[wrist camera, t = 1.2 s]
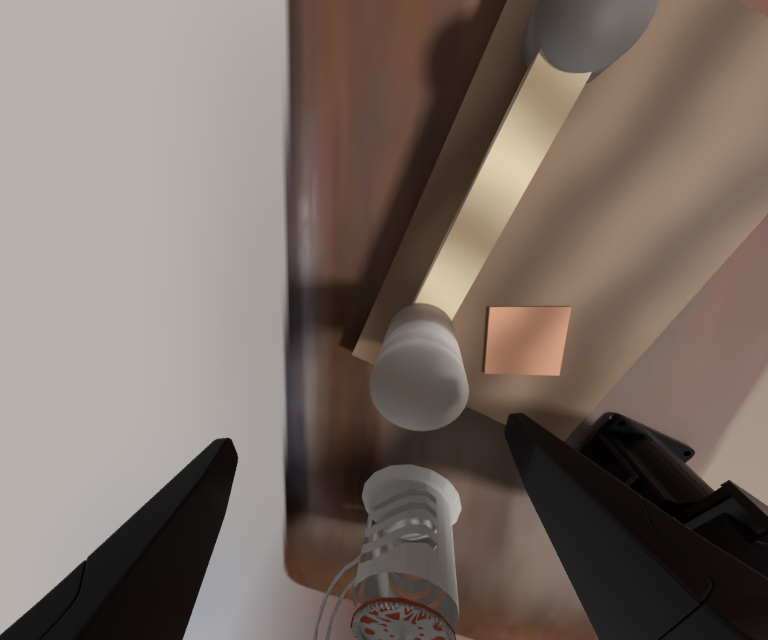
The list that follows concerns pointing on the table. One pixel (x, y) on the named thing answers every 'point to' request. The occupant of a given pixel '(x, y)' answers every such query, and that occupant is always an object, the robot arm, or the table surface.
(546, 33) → the grey-ended beige bar
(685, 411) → the table surface
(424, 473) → the french press
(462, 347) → the board
